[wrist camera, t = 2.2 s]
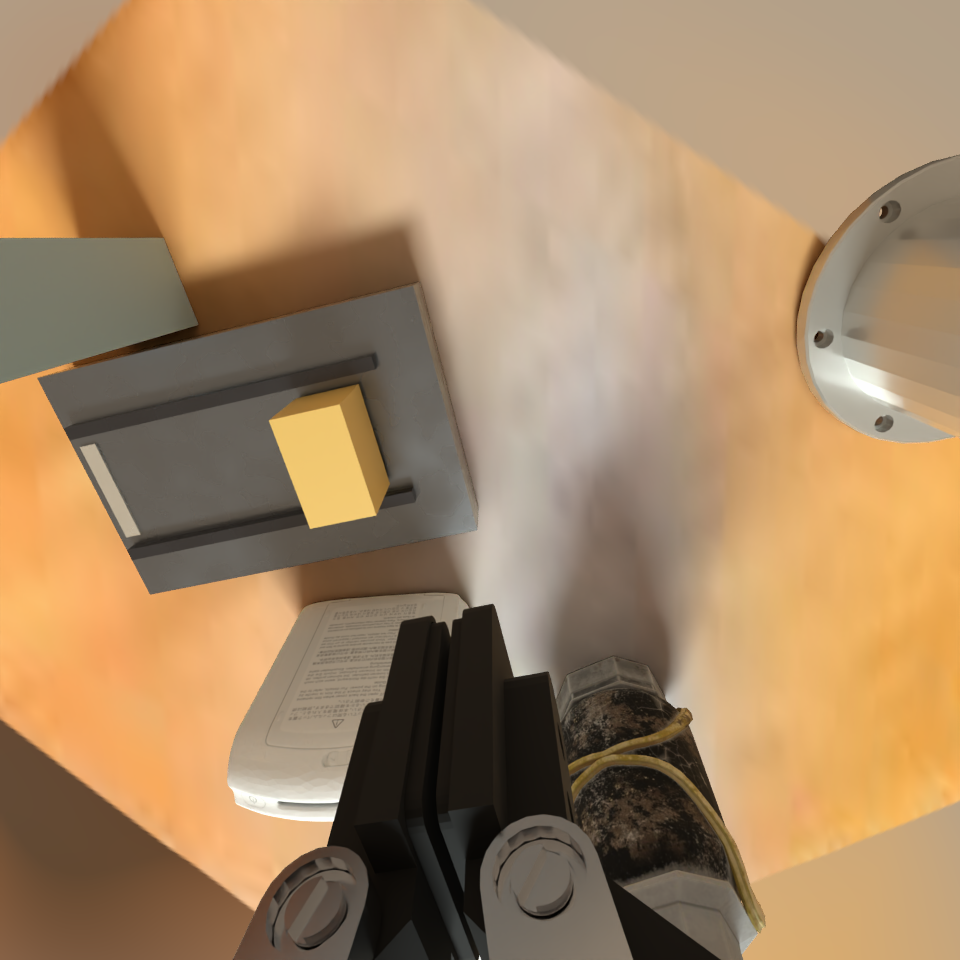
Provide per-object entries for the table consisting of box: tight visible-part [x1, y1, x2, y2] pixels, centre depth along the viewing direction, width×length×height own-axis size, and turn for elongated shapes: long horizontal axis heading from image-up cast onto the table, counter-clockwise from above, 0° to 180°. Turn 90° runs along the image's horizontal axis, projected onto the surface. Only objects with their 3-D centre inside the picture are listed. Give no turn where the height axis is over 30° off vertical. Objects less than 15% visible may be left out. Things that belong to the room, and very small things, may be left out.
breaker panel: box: [38, 282, 479, 594], centre depth 29 cm, size 18×12×3 cm, turn 103°
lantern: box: [556, 656, 766, 960], centre depth 25 cm, size 9×8×25 cm
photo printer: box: [227, 593, 469, 821], centre depth 29 cm, size 10×4×12 cm, turn 97°
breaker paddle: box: [269, 384, 390, 529], centre depth 26 cm, size 3×5×4 cm, turn 13°
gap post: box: [0, 238, 199, 383], centre depth 21 cm, size 4×4×14 cm
